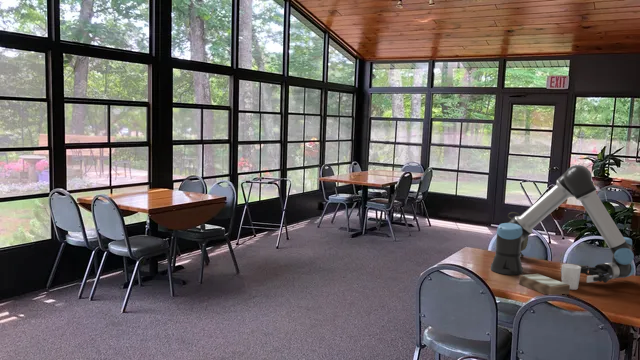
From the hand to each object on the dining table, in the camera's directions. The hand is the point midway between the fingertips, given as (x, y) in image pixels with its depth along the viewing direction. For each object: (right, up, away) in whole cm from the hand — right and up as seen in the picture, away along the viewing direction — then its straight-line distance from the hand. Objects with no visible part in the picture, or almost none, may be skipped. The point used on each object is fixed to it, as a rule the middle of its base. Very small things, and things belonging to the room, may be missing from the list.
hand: (574, 275), depth 236 cm
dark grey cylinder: (-8, 0, +55) cm, 56 cm away
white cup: (-2, -6, +1) cm, 6 cm away
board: (-15, -6, -3) cm, 17 cm away
